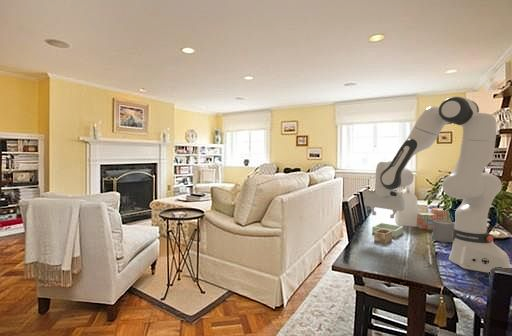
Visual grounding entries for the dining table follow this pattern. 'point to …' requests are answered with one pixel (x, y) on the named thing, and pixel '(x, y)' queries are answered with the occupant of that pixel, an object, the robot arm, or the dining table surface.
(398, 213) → the milk
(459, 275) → the dining table surface
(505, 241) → the dining table surface
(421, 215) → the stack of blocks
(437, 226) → the coffee mug
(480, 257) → the robot arm
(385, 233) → the pine crate
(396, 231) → the sage crate
